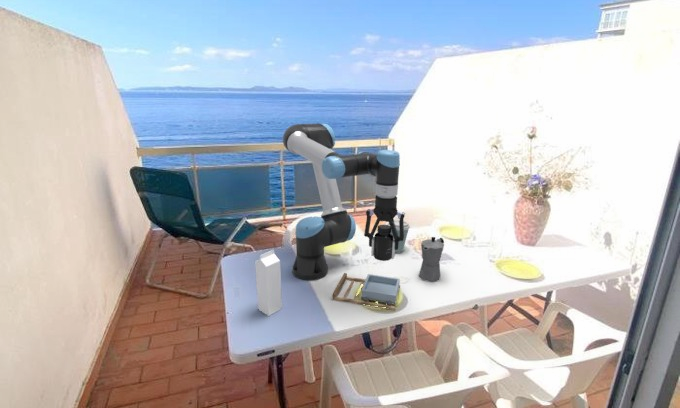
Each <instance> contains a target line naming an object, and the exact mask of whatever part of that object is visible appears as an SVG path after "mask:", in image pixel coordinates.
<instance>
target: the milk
mask: <svg viewBox="0 0 680 408" xmlns="http://www.w3.org/2000/svg"><path fill="white" fill-rule="evenodd" d="M254 267H255V278H256V279H255V281H256V282H255V283H256V296H257V297H256V298H257V310H258V309H259V310H258V311H260V312H261V311H262V313H263V314H265V315H266V314H267V315H266V316H268V317H269V316H271V315H274V313H277V312H279V311H280V310H282V308H283V303H282V302H283V301H282V297H283V296H282V280H281V279H282V278H281V277H282V276H281V260H280V259H279V258H278V256H277V255H276V254H275V250H274V249H272V250H269V251H266V252H265V253H262V254H260V255H259V259H258V260H255V262H254Z"/></svg>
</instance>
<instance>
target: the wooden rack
mask: <svg viewBox="0 0 680 408" xmlns="http://www.w3.org/2000/svg"><path fill="white" fill-rule="evenodd" d="M365 280H366V278H359V277H352V276H348V273H347V272H344V273H343V274H342V276H341V278H340V279H339V281H338V283H337V285H336V287H335V289H334V290H333V292H332V294H331V295H332V298H331V299H332V301H338V302H343V303H349V304H355V305H362V306H366V305H370V306H369V307H371V306H378V307H386V308H389V309H388V310H390V311H393V312H394V311H396V306H393V305H391V306H389V305H386V304H383V303H378V304H377V303H375V302H373V301H372V302H370V301H368V302H366V301H364V300H360V299H359V300H358V299H357V298H359V297H360V294H358V295H357V296H356V294H355V295H354V298H348V296H349V294H350V292H351V290H352V287H353V286H354V283H355V282H359V283H360V284H359V286H360V285H361V284H363V285H364V283H365ZM346 281H350V283H349V285H348V287H347V289H346V291H345V293H344V295H343V297H342V296H339V294H340V292H341V290H342V289H343V286H344V285H345V283H346ZM400 288H401V284H399V289H400ZM363 304H365V305H363Z"/></svg>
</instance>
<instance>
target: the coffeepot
mask: <svg viewBox="0 0 680 408" xmlns="http://www.w3.org/2000/svg"><path fill="white" fill-rule="evenodd" d="M444 243H445V240H444V238H443V237H440V238H437V239H436V237H435V236H431V239H424V240H422V242H421V256H422V262H421V266H420V270H419V273H418V277H419V278H420V279H421V280H423V281H426V282H431V283H434V282H438V281H440V280H441V265H440V261H441V258H442V255H443V250H444V247H445V244H444Z"/></svg>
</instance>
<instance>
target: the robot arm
mask: <svg viewBox="0 0 680 408" xmlns="http://www.w3.org/2000/svg"><path fill="white" fill-rule="evenodd" d="M282 143H283V146H284V148H285V149H286V150H287V151H288V152H289V153H291V154H293V155H298V156H299V155H300V156H301V157H302V158H305V159H306V160H308V161H309V162H311V164H312V167H313V171H314V172H313V173H314V176H315V181H316V185H317V189H318V193H319V199H320V202H321V206H322V213H321V215H320V216H308V217H304V218H301V219H300V220H299V221H298V222H297V224H296V226H295V247H296V252H295V253H296V256H295V258H294V261H293V265H292V274H293V276H294V275H295V278H297V279H300V280H305V281H315V280H319V279H322V278H324V277H325V276H327V275H328V273H329V265H328V262H327V259H326V256H325V248H326V247H330V246H334V245H337V244H342V243H345V242H348V241H351V240H352V239H353V238H354V236H355V234H356V229H357V225H356V220H355V218H354V217H353V216H352V214H349V213H348V211H347V210H348V209H346V208H344V206H343V205H342V204H343V203H342V199H341V195H340V192H339V186H338V182H337V180H339V179H342V178H349V177H357V176H365V175H371V176H374V177H376V180H375V197H374V198H375V199H374V201H375V202H374V208H373V209H370V208H367V210H366V212H365V215H366V220H365V221H366V222H365V226H364V233H363V236H364V237H366V238H368V246H369V247H370V248H371V250H370V251H371V254H370V255H371V257H374V237H375V234H376V231H377V230H378V226H379V225H380V222H386V223H389V224H390V227H391V230H392V233H393V236H394V240H393V245H392V258H391V260H394V258H395V254H396V253H395V250H397V249H398V244H399V241H403V240H404V221H405V220H404V218H405V216H406V213H405V212H399V210H398V208H397V206H398V205H397V203H398V197H397V196H398V192H399V191H398V189H399V173H400V165H401V164H400V159H401V158H400V153H399V151H396V150H390V149H382V150H378V151H377V153H372V152H370V151H359V152H357V153H356V154H355V153H354V154H341V153H339V152H336V151H335V150H333V148H334V147H335V145H336V135H335V132H334V130H333V128H332V127H331V126H330V125H329V124H327V123H319V122H317V123H298V124H297V123H296V124H293V125H290V126H288V128H287V129H285V131H284V133H283V135H282ZM373 215H375V216H376V220H375V222H374V225H373V227H372V229H371V231H370V227H371V221H372V216H373ZM396 216H397V219H398V220H399V227H400V236H398V233H397V230H396V226H395V223H394V218H395V217H396Z"/></svg>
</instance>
